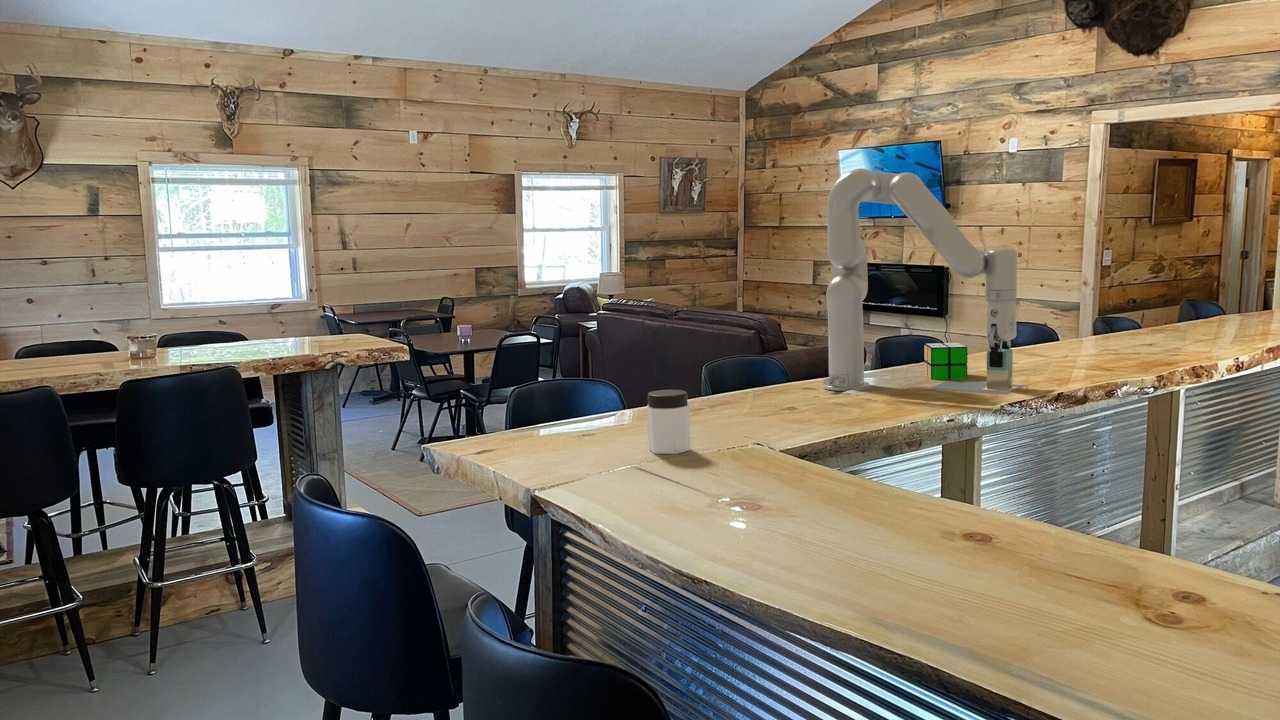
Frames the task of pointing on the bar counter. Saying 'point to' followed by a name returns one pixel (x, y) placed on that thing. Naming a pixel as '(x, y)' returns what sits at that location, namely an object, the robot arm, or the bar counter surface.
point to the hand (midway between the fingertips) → (1000, 364)
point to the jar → (668, 422)
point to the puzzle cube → (945, 361)
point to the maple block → (999, 379)
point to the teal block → (1006, 361)
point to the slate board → (973, 387)
